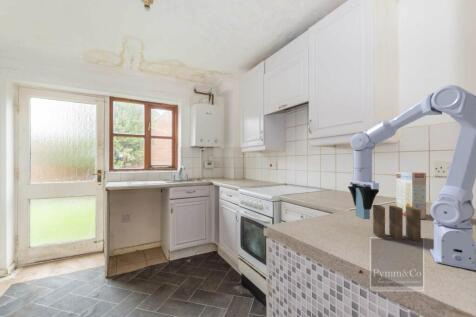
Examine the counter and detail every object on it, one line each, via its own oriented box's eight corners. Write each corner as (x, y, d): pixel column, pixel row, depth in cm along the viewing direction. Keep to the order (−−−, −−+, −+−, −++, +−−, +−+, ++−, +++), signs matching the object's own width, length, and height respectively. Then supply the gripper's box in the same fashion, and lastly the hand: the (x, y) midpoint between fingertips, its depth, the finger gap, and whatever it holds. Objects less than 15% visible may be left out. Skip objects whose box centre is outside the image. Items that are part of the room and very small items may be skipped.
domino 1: (363, 219, 73) (364, 189, 74) (355, 215, 78) (355, 187, 79) (369, 219, 73) (369, 189, 74) (361, 215, 78) (361, 187, 79)
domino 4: (412, 236, 74) (412, 206, 74) (420, 241, 69) (420, 209, 70) (405, 235, 75) (405, 206, 75) (413, 240, 70) (413, 209, 70)
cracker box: (427, 219, 97) (427, 172, 97) (411, 219, 98) (411, 172, 98) (409, 212, 110) (409, 171, 111) (395, 212, 112) (395, 171, 112)
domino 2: (379, 233, 77) (379, 204, 77) (385, 238, 72) (385, 207, 72) (373, 232, 77) (373, 204, 77) (378, 237, 72) (378, 207, 73)
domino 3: (395, 234, 75) (395, 205, 76) (402, 239, 71) (402, 208, 71) (389, 234, 76) (389, 205, 76) (395, 238, 71) (395, 208, 71)
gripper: (388, 169, 69) (388, 212, 69) (361, 168, 84) (361, 203, 83) (366, 169, 69) (366, 212, 69) (343, 167, 84) (343, 203, 83)
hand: (362, 207), depth 76 cm, fingers closed on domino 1, 5 cm apart
